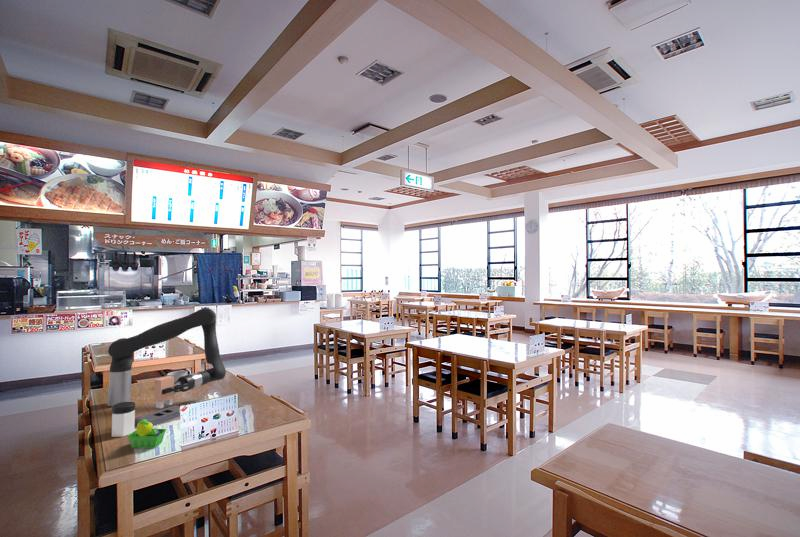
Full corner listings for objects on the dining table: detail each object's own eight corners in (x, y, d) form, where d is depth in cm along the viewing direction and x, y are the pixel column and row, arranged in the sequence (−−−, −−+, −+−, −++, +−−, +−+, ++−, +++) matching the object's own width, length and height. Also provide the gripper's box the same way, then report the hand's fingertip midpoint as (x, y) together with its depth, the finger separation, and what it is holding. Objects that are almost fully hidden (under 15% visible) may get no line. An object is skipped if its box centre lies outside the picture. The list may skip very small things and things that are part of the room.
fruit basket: (167, 441, 161) (167, 413, 161) (154, 451, 152) (155, 421, 153) (138, 441, 161) (139, 413, 161) (124, 450, 152) (124, 421, 152)
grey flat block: (150, 427, 175) (150, 421, 175) (135, 424, 178) (135, 418, 178) (188, 412, 194) (188, 407, 194) (174, 410, 197) (174, 405, 197)
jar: (139, 429, 173) (140, 401, 173) (128, 436, 165) (129, 407, 165) (117, 429, 172) (118, 401, 172) (105, 437, 164) (106, 408, 164)
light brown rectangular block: (160, 408, 182) (160, 380, 182) (154, 407, 183) (154, 379, 184) (173, 404, 189) (174, 376, 189) (167, 403, 190) (168, 375, 190)
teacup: (180, 388, 233) (181, 374, 233) (162, 388, 233) (163, 374, 233) (193, 382, 247) (194, 369, 247) (176, 381, 247) (176, 368, 247)
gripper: (179, 373, 202) (147, 381, 186) (201, 375, 197) (170, 385, 181) (179, 387, 202) (147, 397, 186) (200, 390, 197) (170, 401, 181)
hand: (159, 391), depth 183 cm, fingers closed on light brown rectangular block, 4 cm apart
